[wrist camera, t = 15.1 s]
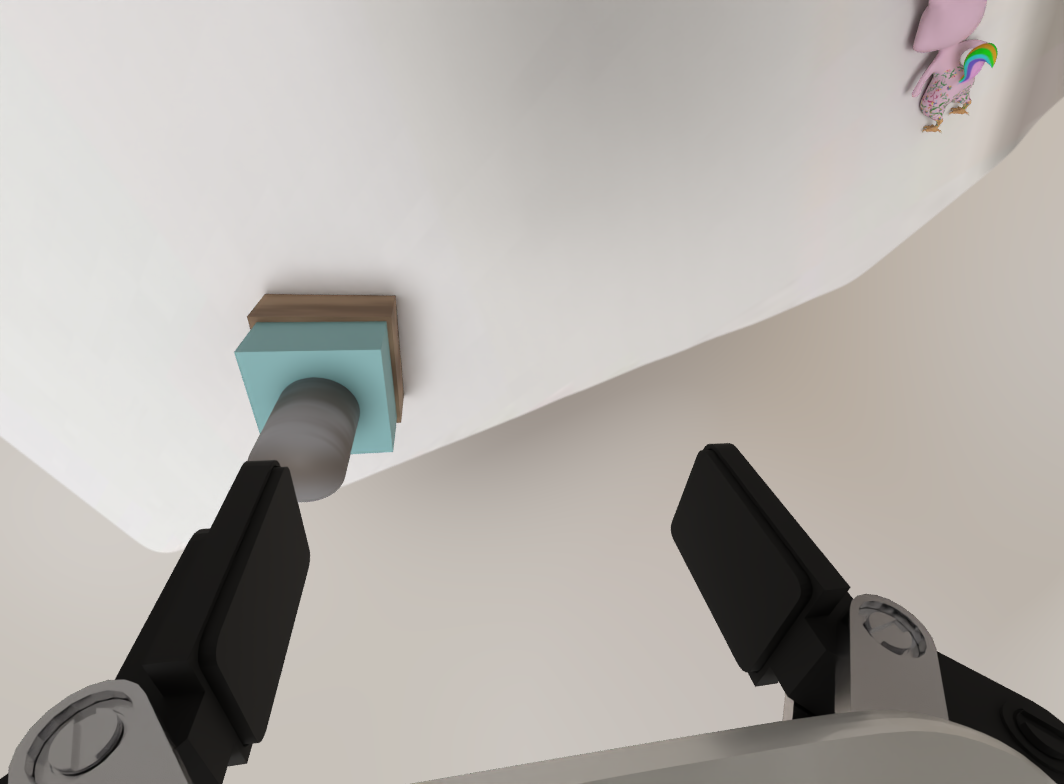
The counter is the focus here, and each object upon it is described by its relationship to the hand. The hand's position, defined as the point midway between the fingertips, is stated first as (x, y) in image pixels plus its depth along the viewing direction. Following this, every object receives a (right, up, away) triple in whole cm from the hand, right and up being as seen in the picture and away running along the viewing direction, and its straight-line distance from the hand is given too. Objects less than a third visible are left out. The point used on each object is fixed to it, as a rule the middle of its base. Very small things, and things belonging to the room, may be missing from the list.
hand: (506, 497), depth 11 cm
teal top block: (-17, +4, +30) cm, 35 cm away
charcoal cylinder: (-16, +1, +26) cm, 31 cm away
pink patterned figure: (+33, +32, +28) cm, 54 cm away
